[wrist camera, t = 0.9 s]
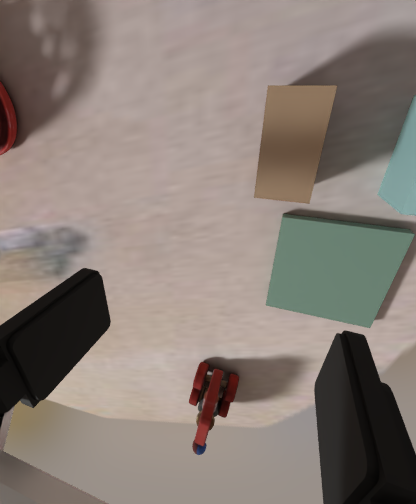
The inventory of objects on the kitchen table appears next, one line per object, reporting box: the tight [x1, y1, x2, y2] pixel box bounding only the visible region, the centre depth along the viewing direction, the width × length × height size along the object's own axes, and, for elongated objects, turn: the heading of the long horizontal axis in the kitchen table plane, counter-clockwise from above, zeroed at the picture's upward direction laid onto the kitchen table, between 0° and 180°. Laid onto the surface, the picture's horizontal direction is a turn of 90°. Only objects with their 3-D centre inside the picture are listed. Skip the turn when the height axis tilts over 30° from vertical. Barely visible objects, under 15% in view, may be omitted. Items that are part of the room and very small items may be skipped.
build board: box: [266, 214, 415, 328], centre depth 27 cm, size 12×12×1 cm
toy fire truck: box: [189, 362, 239, 455], centre depth 39 cm, size 7×12×10 cm, turn 170°
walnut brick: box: [254, 86, 337, 204], centre depth 21 cm, size 8×4×6 cm, turn 178°
